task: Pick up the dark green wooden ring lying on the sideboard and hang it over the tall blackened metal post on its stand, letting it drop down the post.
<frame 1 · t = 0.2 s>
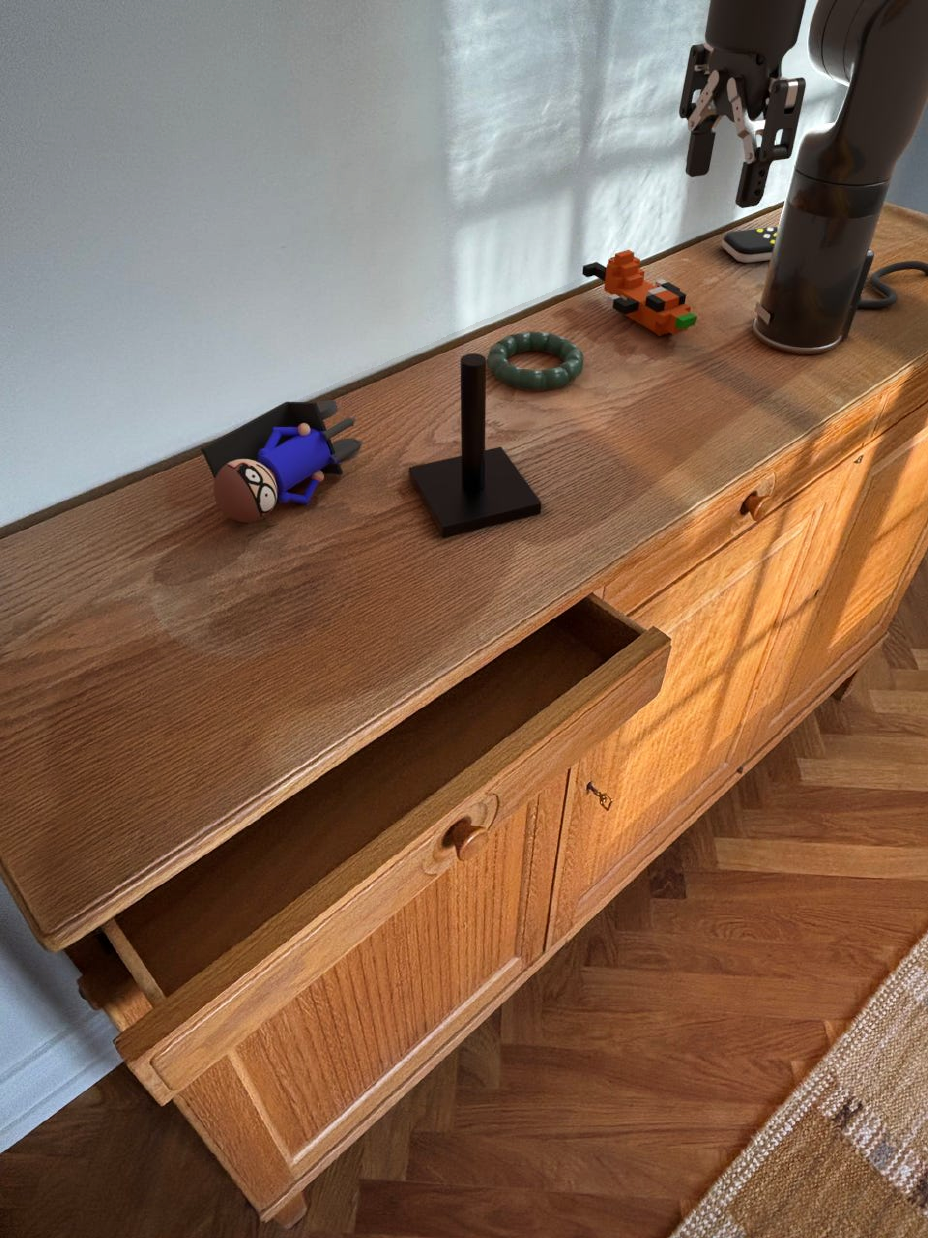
hand: (720, 189, 81), 17 cm above the cabinet, tool pointing down, fingers open, 8 cm apart
ring: (535, 360, 91), point 1 cm above the cabinet
toy: (640, 319, 100), on the cabinet
character figurine: (291, 496, 77), on the cabinet
remote control: (772, 251, 112), on the cabinet
post: (473, 495, 77), on the cabinet
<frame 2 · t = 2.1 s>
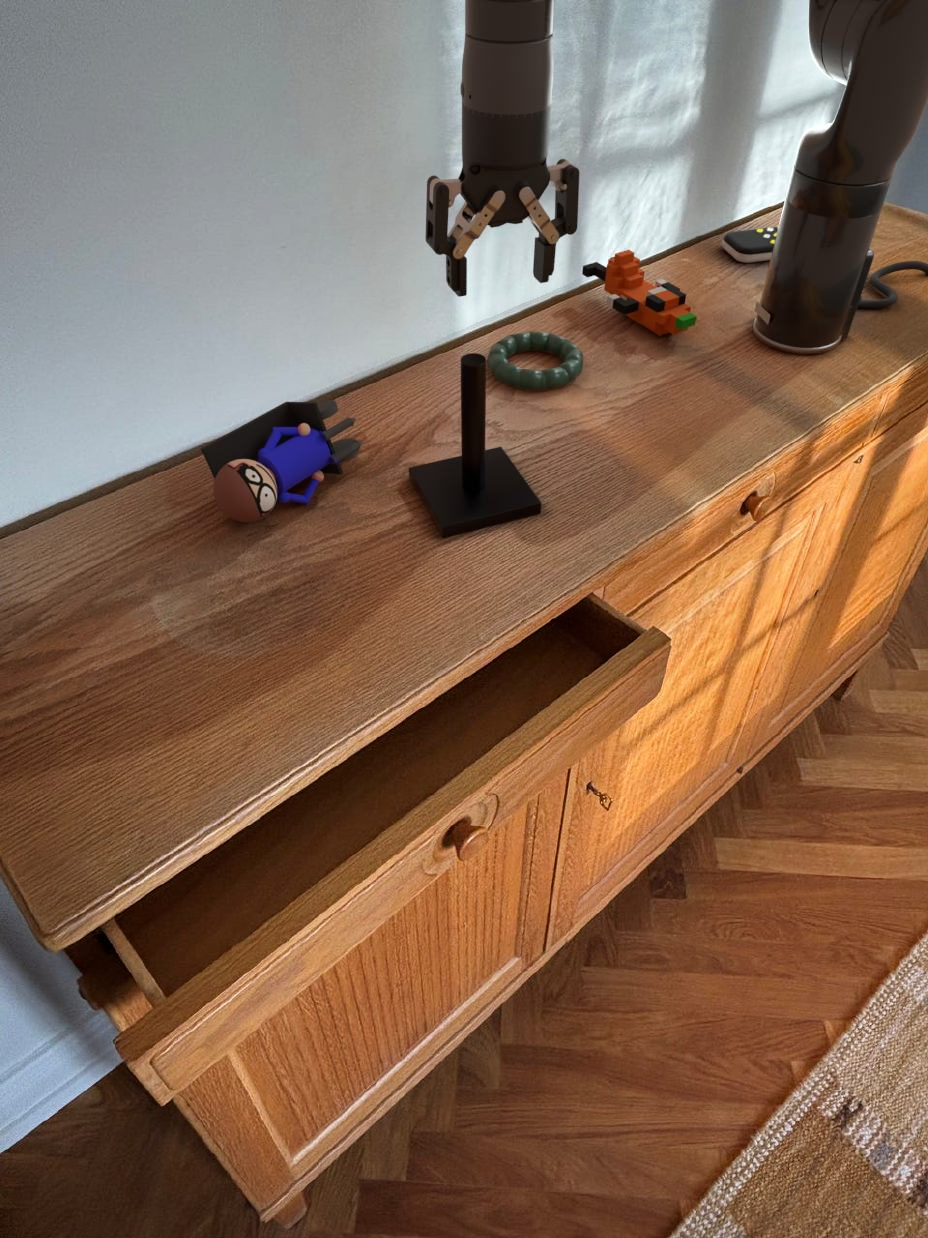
hand: (500, 286, 84), 10 cm above the cabinet, tool pointing down, fingers open, 8 cm apart
nothing on the cabinet moved.
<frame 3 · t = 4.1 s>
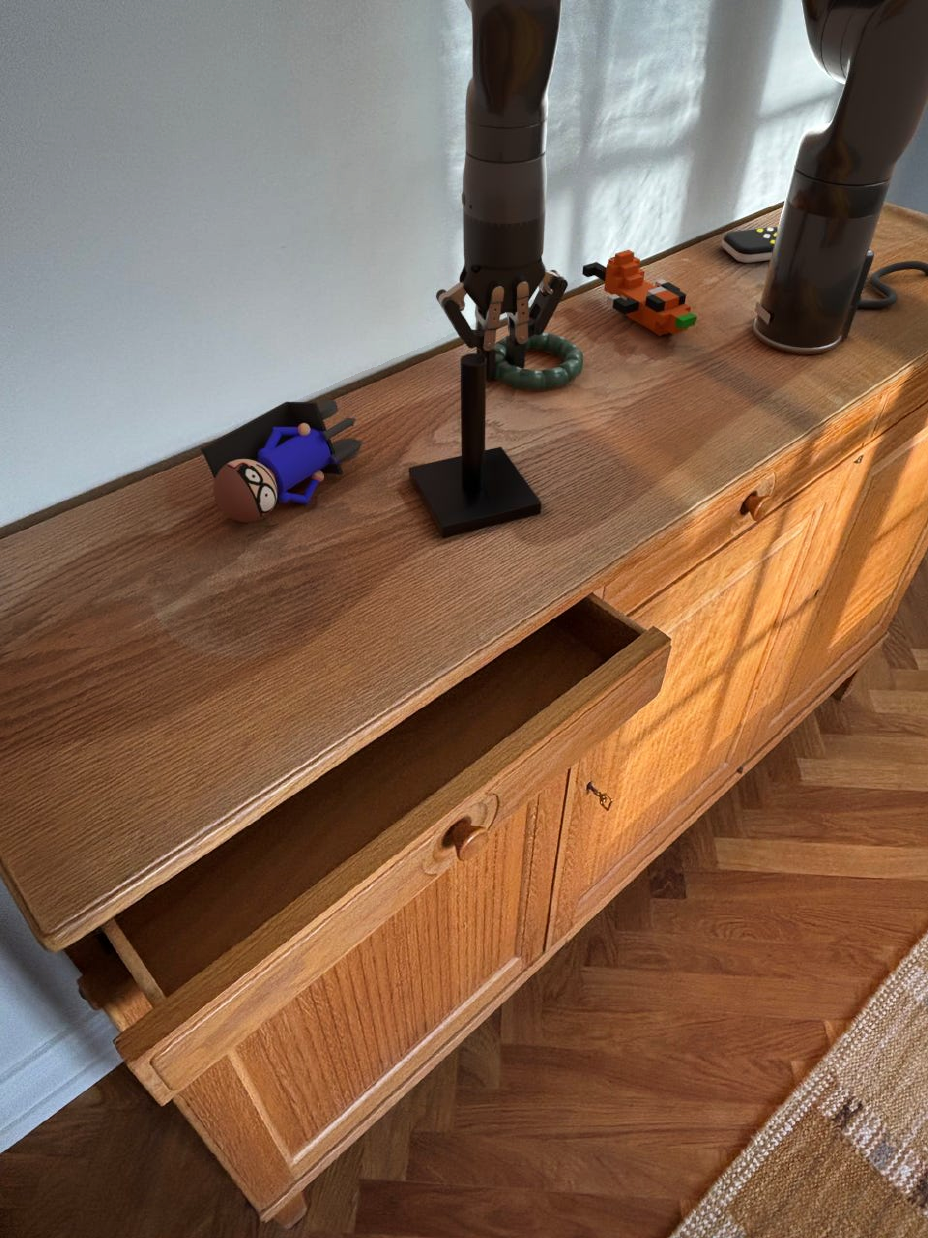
hand: (500, 375, 91), 0 cm above the cabinet, tool pointing down, fingers closed on ring, 2 cm apart
ring: (534, 360, 91), point 1 cm above the cabinet, touching gripper
everything else where it was.
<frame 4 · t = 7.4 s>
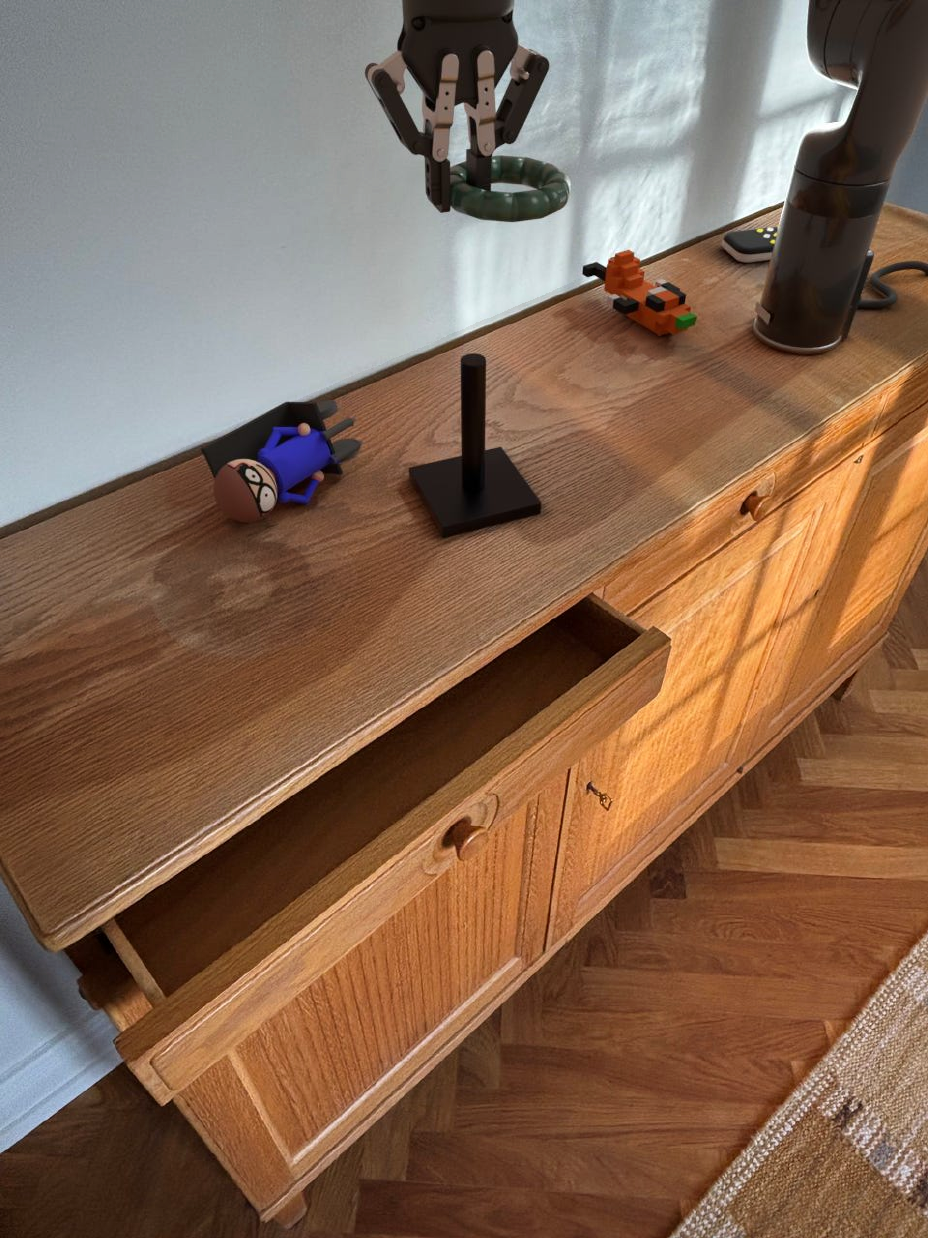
hand: (458, 205, 67), 22 cm above the cabinet, tool pointing down, fingers closed on ring
ring: (505, 187, 68), point 22 cm above the cabinet, touching gripper
everything else where it was.
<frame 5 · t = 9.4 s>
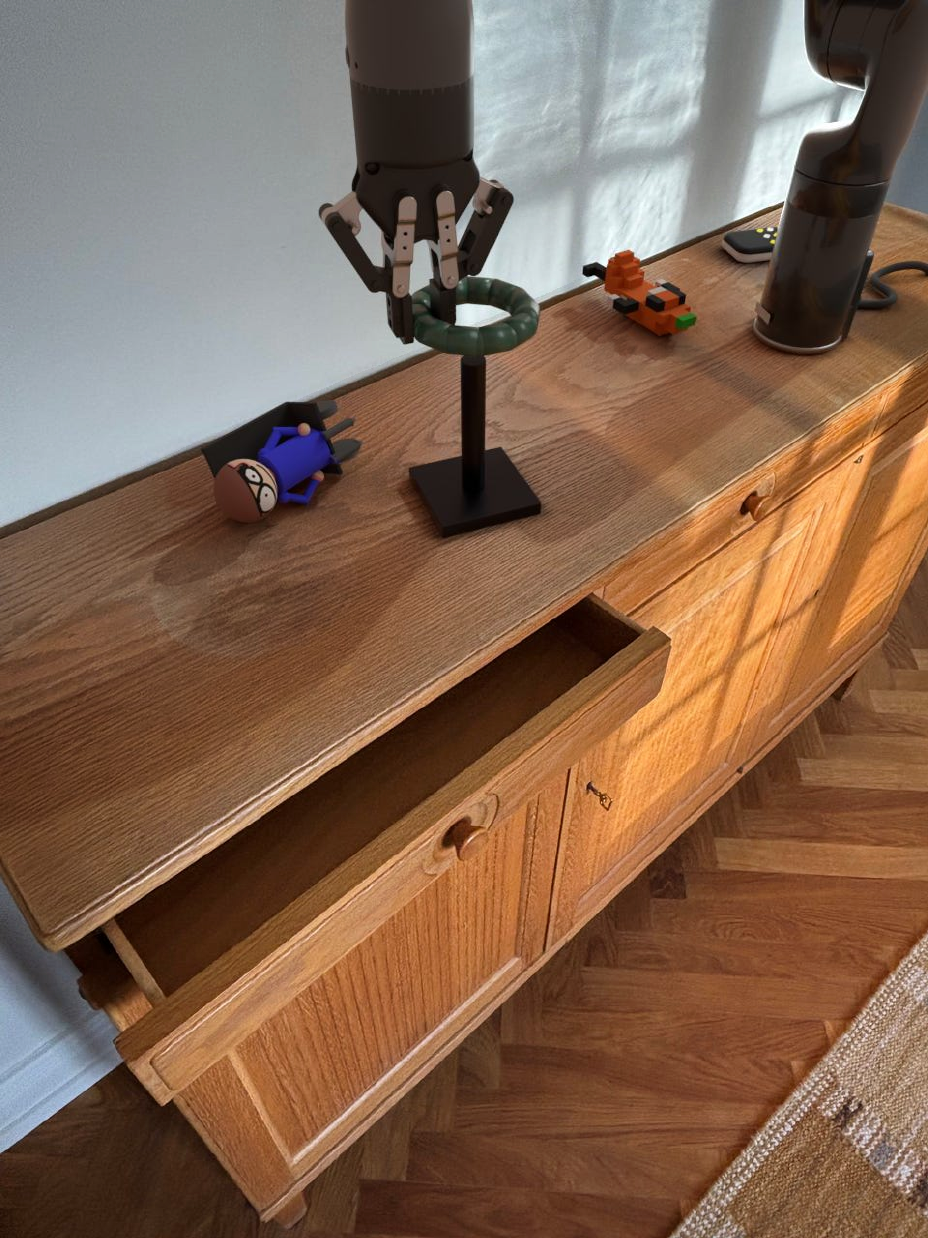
hand: (423, 334, 64), 16 cm above the cabinet, tool pointing down, fingers closed on ring
ring: (472, 314, 65), point 17 cm above the cabinet, touching gripper
everything else where it was.
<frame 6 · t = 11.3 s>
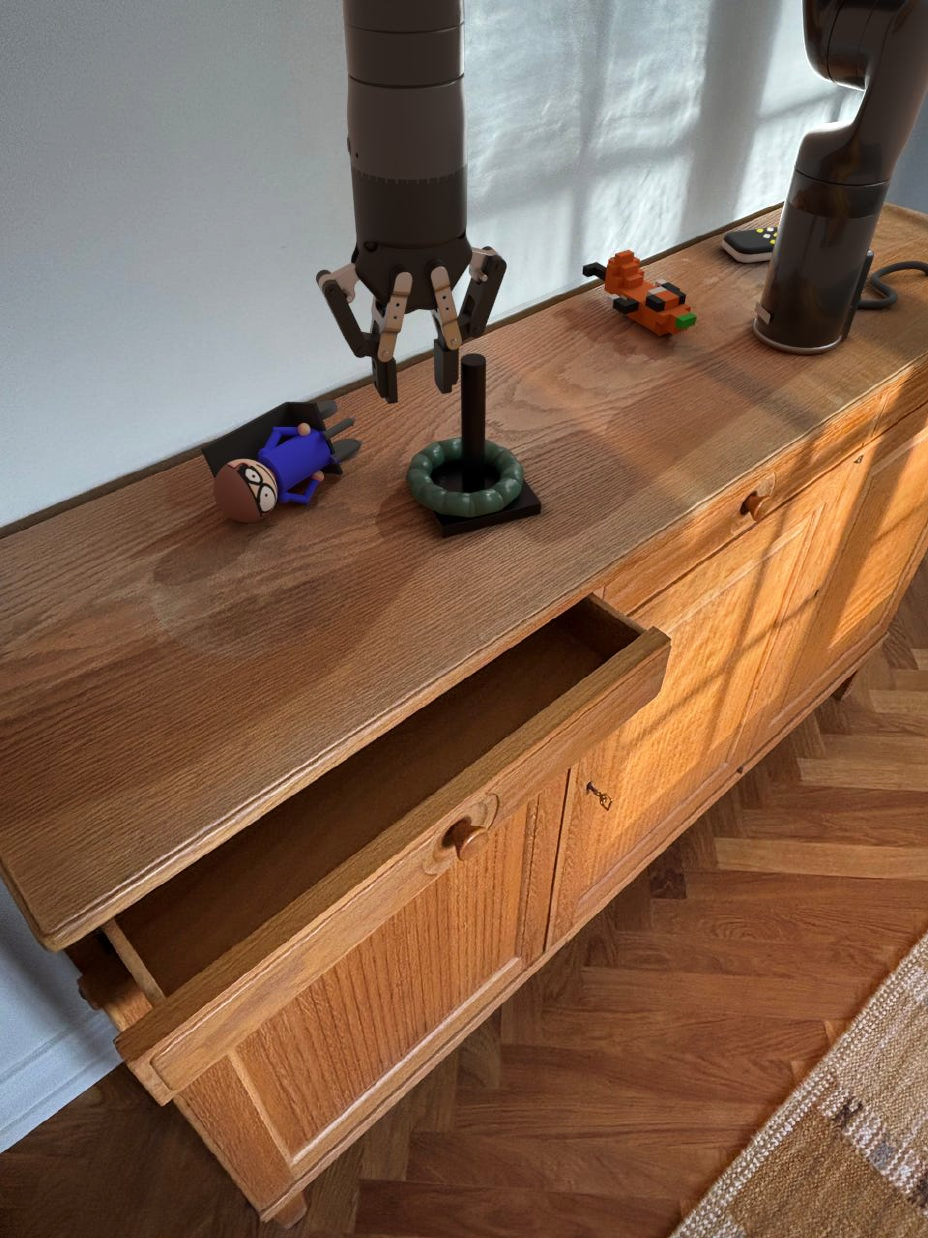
hand: (417, 392, 67), 11 cm above the cabinet, tool pointing down, fingers open, 3 cm apart
ring: (465, 475, 75), point 2 cm above the cabinet, touching post
everything else where it was.
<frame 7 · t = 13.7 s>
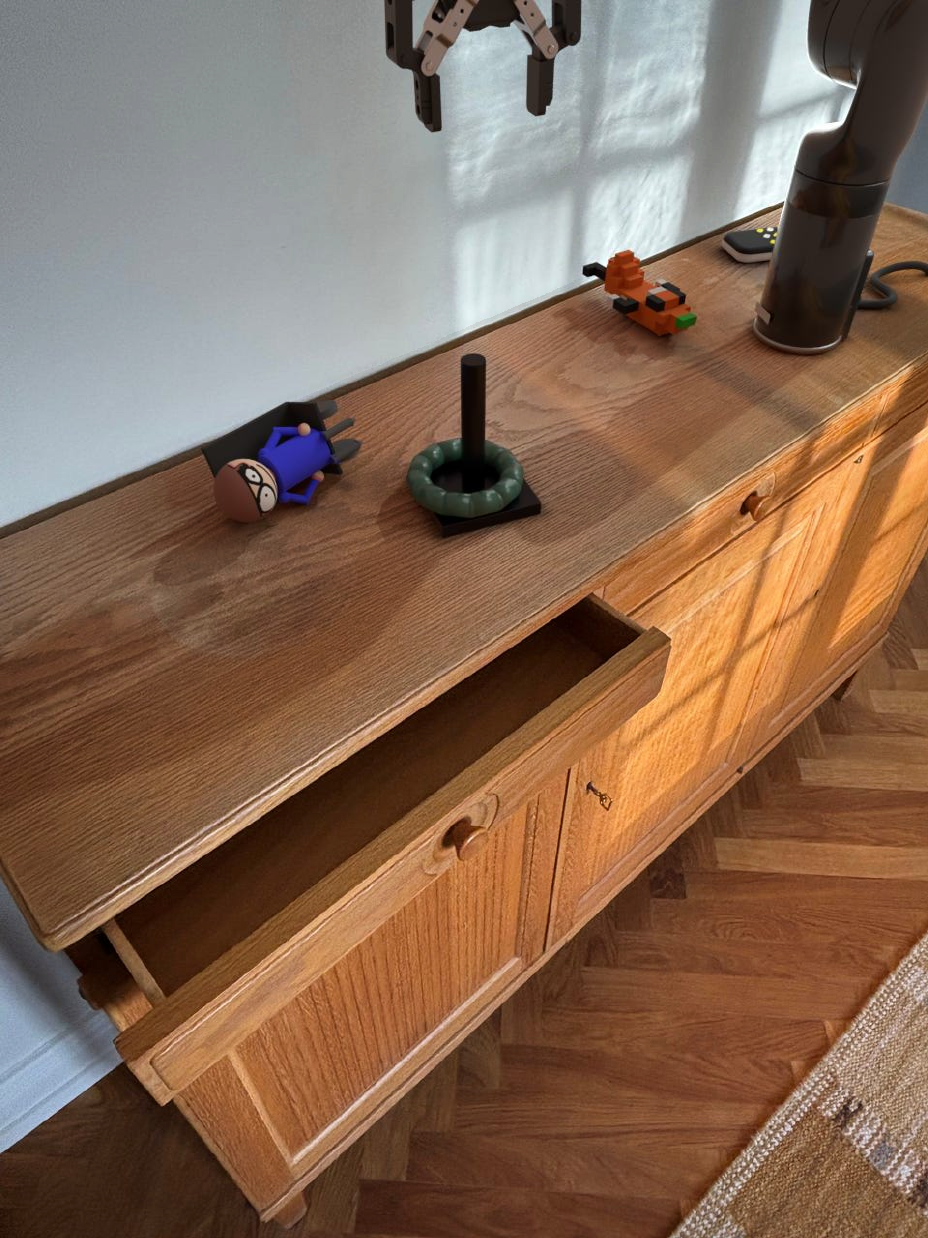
hand: (485, 120, 66), 26 cm above the cabinet, tool pointing down, fingers open, 8 cm apart
nothing on the cabinet moved.
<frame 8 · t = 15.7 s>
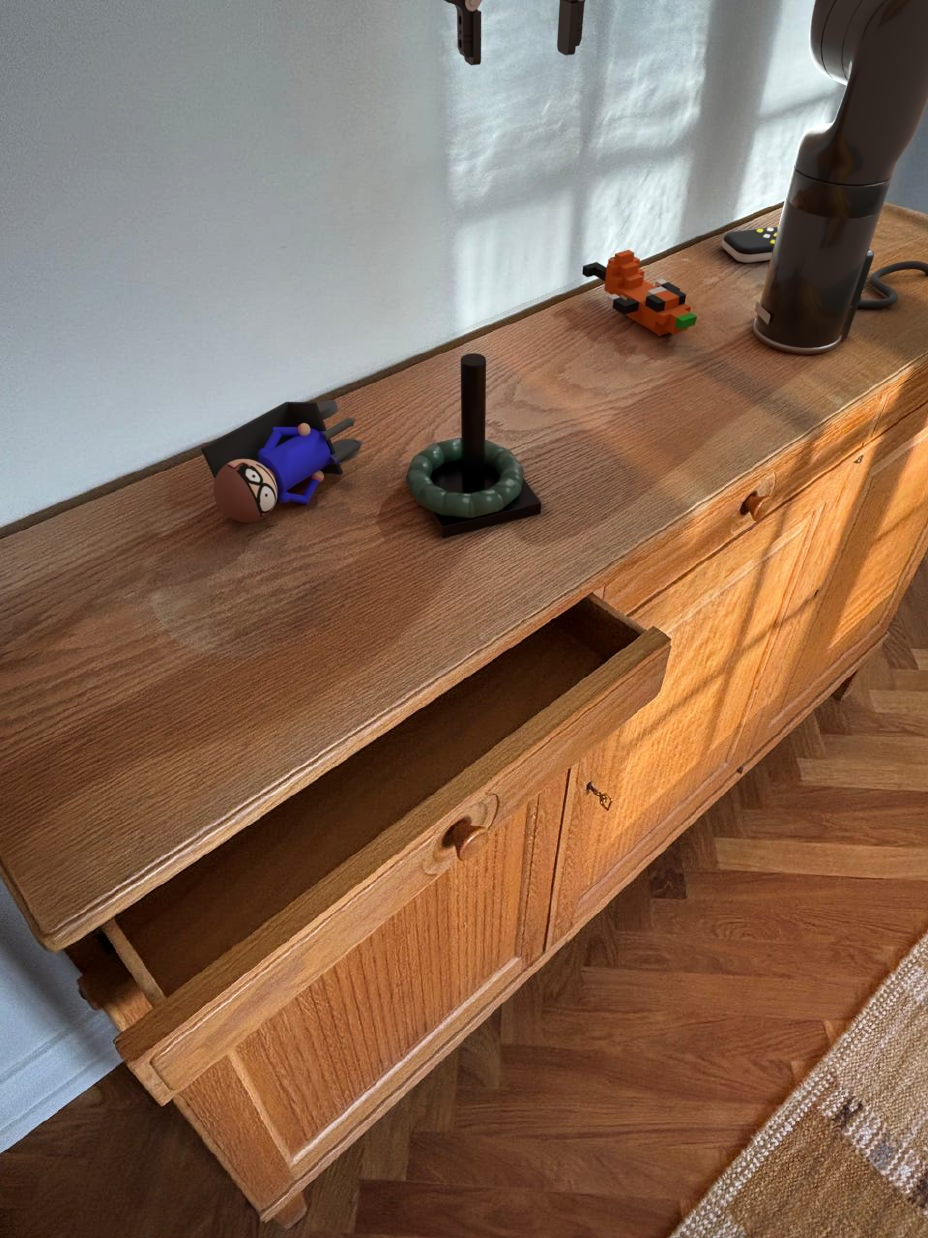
hand: (520, 57, 73), 28 cm above the cabinet, tool pointing down, fingers open, 8 cm apart
nothing on the cabinet moved.
at the end: ring 0.7 cm from the post (horizontally); ring point 2.2 cm above the cabinet; the gripper is holding nothing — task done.
